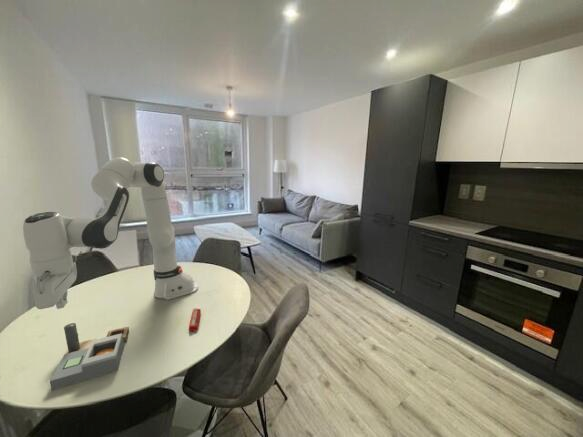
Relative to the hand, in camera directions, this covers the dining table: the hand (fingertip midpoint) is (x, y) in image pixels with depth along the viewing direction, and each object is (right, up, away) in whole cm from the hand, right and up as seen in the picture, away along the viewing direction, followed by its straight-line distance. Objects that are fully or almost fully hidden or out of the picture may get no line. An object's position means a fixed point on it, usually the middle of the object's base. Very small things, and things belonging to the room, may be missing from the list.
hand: (62, 306), depth 75 cm
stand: (+3, -21, +20) cm, 29 cm away
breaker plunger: (+7, -23, +9) cm, 25 cm away
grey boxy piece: (+3, -24, +7) cm, 25 cm away
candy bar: (+29, -19, +32) cm, 47 cm away
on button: (-1, -23, +5) cm, 24 cm away
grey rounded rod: (-8, -21, +13) cm, 27 cm away
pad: (-7, -22, +14) cm, 27 cm away
